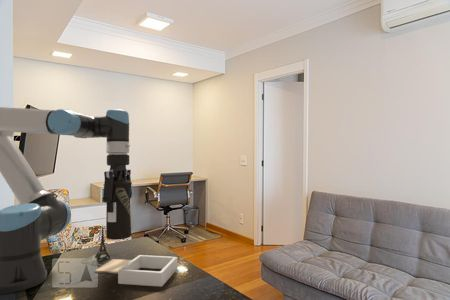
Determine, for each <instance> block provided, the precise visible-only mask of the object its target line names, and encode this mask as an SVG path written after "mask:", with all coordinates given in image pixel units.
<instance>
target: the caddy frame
mask: <svg viewBox="0 0 450 300" xmlns="http://www.w3.org/2000/svg"><path fill="white" fill-rule="evenodd" d="M131 260H132V261H130V262H129V263H128V264H126V265H125V266H123V267H122V268H121V269H119V270H118V274H117V284H119V285H130V286H131V285H132V286H133V285H134V286H148V287H163V286H164V285H165V284H166V283H167V282H168V280H169V279H170V278H171V277H172V276H173V275H174V273H175V272H176V271H177V270H178V269H177V268H178V257H177V256H170V255H169V256H167V255H150V254H149V255H147V254H146V255H145V254H139V255H137V256H135V258H133V259H131ZM141 268H142V269H154V270H141ZM155 269H156V270H157V271H156V270H155ZM158 269H159V271H158Z"/></svg>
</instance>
